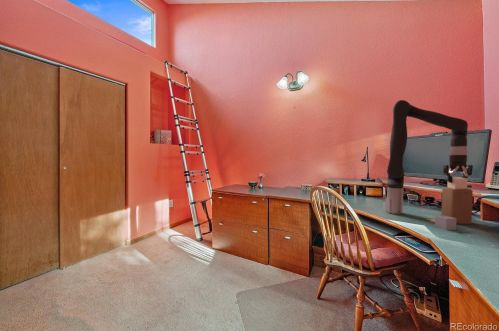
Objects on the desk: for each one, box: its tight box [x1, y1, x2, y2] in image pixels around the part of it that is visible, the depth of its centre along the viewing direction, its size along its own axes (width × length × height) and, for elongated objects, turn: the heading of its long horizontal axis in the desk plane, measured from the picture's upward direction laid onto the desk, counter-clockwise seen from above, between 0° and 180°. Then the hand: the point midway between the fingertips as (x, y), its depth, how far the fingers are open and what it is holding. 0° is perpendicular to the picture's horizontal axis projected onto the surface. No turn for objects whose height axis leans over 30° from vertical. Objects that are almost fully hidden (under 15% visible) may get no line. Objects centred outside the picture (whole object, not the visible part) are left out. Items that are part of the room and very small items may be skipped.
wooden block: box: [441, 186, 474, 225], centre depth 130 cm, size 10×10×20 cm
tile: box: [424, 218, 435, 224], centre depth 131 cm, size 8×8×1 cm
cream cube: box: [446, 176, 468, 189], centre depth 129 cm, size 6×6×6 cm
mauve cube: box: [434, 214, 457, 231], centre depth 119 cm, size 6×6×6 cm
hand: (457, 182), depth 129 cm, fingers open, 6 cm apart
